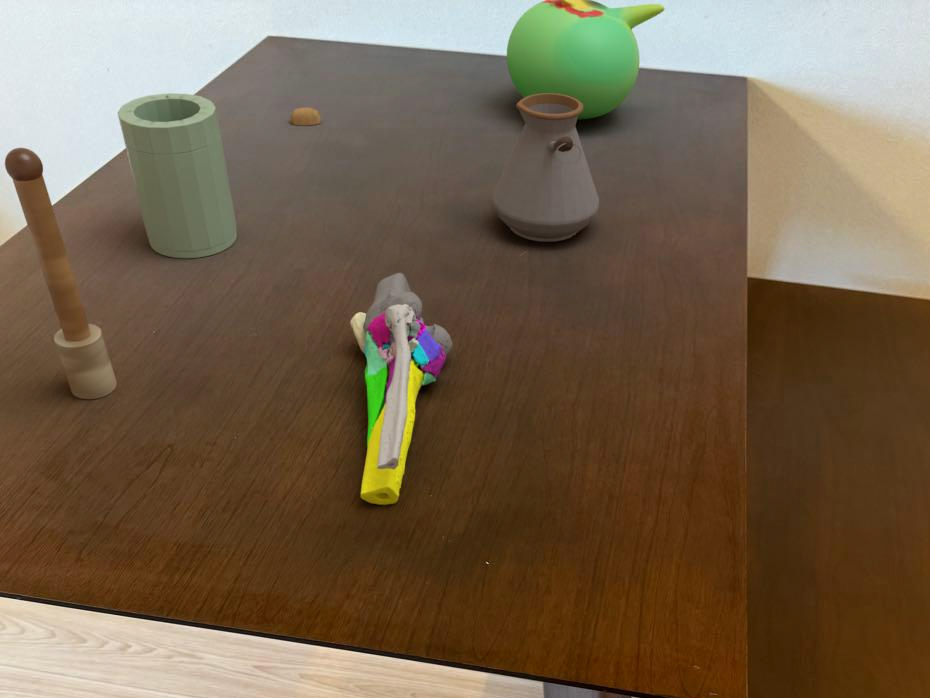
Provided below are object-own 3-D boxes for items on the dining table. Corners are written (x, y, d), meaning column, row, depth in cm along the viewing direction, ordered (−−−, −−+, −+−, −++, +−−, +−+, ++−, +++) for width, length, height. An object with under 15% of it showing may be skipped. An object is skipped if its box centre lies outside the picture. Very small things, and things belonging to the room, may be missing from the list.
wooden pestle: (65, 399, 79) (-18, 158, 65) (78, 374, 82) (0, 138, 68) (110, 399, 79) (37, 159, 66) (121, 375, 82) (53, 139, 68)
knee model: (365, 547, 75) (378, 337, 90) (460, 518, 72) (457, 309, 88) (301, 474, 68) (328, 261, 84) (404, 440, 66) (412, 228, 81)
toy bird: (481, 105, 131) (482, -16, 121) (572, 82, 139) (580, -34, 129) (570, 148, 121) (580, 20, 111) (663, 120, 130) (679, -2, 119)
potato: (322, 125, 124) (320, 111, 123) (290, 126, 123) (288, 112, 122) (321, 117, 126) (320, 103, 125) (290, 118, 125) (288, 104, 124)
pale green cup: (140, 258, 97) (107, 126, 88) (159, 219, 103) (130, 92, 94) (229, 259, 97) (205, 128, 88) (243, 220, 104) (222, 94, 95)
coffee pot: (489, 202, 109) (491, 61, 99) (590, 203, 110) (602, 63, 100) (499, 298, 94) (503, 142, 83) (616, 297, 94) (635, 143, 84)
